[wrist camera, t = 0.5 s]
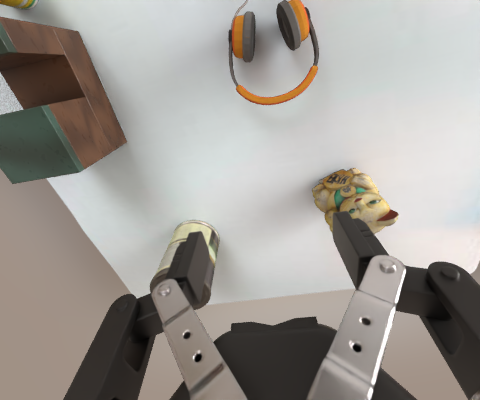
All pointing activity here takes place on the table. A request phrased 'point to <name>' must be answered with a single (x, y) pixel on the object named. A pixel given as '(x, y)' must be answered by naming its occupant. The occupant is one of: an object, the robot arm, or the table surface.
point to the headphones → (293, 31)
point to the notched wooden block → (52, 104)
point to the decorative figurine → (353, 199)
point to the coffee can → (178, 237)
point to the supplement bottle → (20, 3)
